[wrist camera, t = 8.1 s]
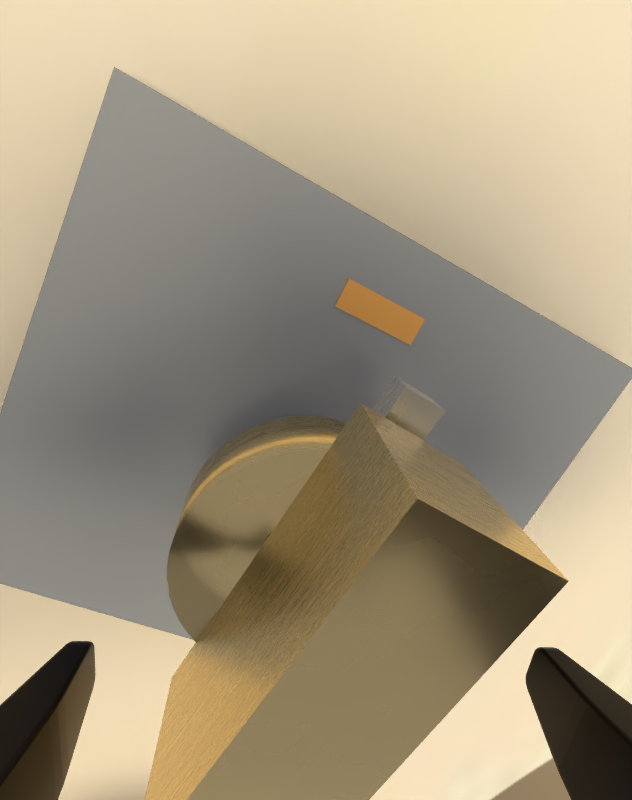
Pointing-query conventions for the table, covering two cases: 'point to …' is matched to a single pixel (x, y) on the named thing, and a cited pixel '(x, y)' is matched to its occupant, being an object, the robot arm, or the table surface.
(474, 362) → the post plate
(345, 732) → the rotary switch handle
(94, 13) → the table surface
